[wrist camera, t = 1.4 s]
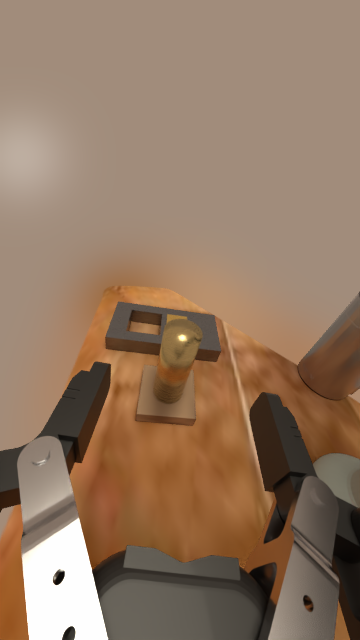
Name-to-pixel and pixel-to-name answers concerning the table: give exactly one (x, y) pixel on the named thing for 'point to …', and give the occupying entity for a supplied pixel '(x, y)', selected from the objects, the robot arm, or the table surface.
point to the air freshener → (340, 475)
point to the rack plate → (150, 343)
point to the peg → (176, 359)
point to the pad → (161, 412)
